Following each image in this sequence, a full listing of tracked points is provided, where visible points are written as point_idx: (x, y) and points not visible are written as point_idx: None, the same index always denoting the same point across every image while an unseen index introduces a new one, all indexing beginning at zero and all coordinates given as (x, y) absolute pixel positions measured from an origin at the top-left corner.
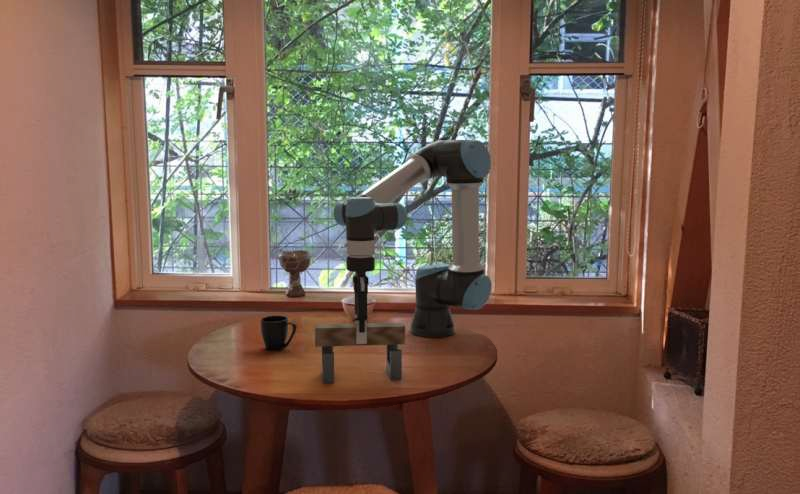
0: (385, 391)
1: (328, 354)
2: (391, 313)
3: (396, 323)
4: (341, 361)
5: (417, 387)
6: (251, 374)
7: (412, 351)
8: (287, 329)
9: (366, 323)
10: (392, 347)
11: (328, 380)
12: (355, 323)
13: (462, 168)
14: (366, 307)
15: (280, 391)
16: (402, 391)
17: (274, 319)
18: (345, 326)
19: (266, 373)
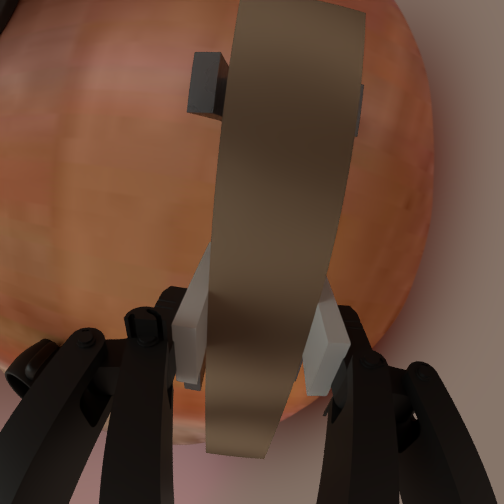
0: (404, 181)
1: (299, 366)
2: None
3: (260, 39)
4: (118, 247)
5: (402, 85)
6: (196, 411)
7: (76, 32)
8: (29, 361)
9: (343, 326)
10: (225, 91)
11: None
12: (205, 344)
13: None
14: (466, 441)
15: (304, 388)
16: (418, 137)
17: (14, 380)
18: (264, 394)
19: (193, 395)
